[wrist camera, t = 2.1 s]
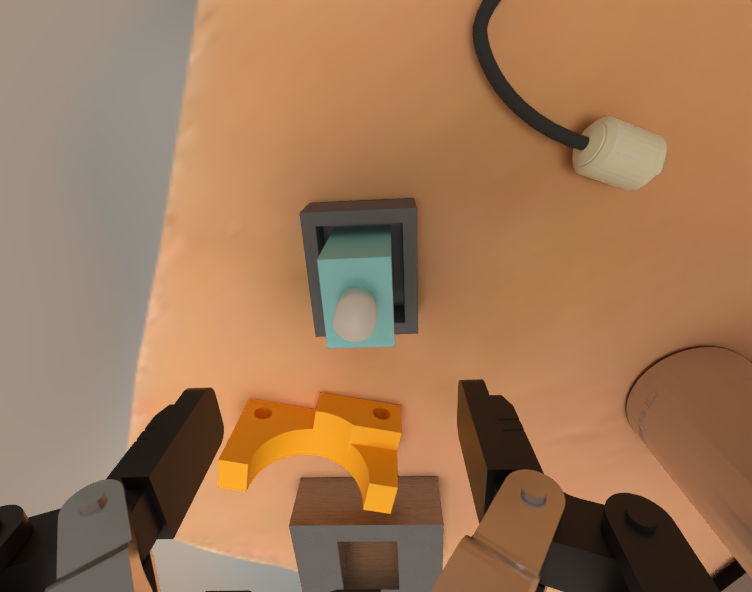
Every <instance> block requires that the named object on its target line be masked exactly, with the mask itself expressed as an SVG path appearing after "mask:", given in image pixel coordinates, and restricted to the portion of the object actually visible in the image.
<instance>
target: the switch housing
mask: <svg viewBox="0 0 752 592" xmlns="http://www.w3.org/2000/svg"><path fill="white" fill-rule="evenodd" d="M289 528H290V533H291V538H292V543H293V547H294V552H295V557H296V562H297V567H298V572H299V576H300V581H301V586H302V591H303V592H331V591H334V590H338V589H381V592H430V591H431V589H432V588H433V586H434V584H435V583H436V581H437V579H438V578H439V576H440V574H441V573H442V566H443V517H442V510H441V502H440V495H439V488H438V480H437V476H433V477H398V489H397V493H396V496H395V500H394V503H393V507H392V510H391V514H388V513H382V512H375V511H369V510H363V498H362V494H361V491H360V488H359V486H358V484H357V482H356V481H355V479H354V478H301V480H300V484H299V488H298V492H297V496H296V500H295V504H294V508H293V512H292V516H291V520H290V524H289Z"/></svg>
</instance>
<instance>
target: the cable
mask: <svg viewBox="0 0 752 592" xmlns="http://www.w3.org/2000/svg"><path fill="white" fill-rule="evenodd" d="M500 1H501V0H483V1H482V3H481V5H480V7H479V9H478V11H477V14H476V17H475V21H474V24H473V41H474V46H475V50H476V54H477V57H478V59H479V62H480V65H481V67H482V69H483V71H484V73H485V75H486V77H487V79H488V81H489V82H490V84H491V85H492V87H493V89H494V90H495V92H496V93H497V94H498V95H499V97H500V98H501V99H502V100H503V102H504V103H505V104H506V105H507V106H508V107H509V108H510V109H511V110H512V111H513V112H514V113H515V114H516V115H517V116H518V117H520V118H521V119H522V120H523V121H525V122H526V123H527V124H528V125H530V126H531V127H532V128H534V129H536V130H537V131H539V132H541V133H542V134H544V135H545V136H547V137H549V138H551V139H553V140H555V141H558V142H560V143H562V144H564V145H566V146H569V147H572V148H574V149H573V155H572V161H573V168H574V170H575V172H576V173H577V174H579V175H582V176H585V177H588V178H591V179H594V180H597V181H599V182H602V183H605V184H608V185H611V186H614V187H616V188H619V189H622V190H625V191H633V190H637V189H639V188H641V187H643V186H644V185H646V184H647V183H648V182H649V181H651V180H652V178H653V177H654V176H655V175H659V174H660V172H661V170H662V169H663V167H664V166H662V165H663V163H664V160H665V157H666V153H667V144H666V141H665V139H664V138H663V137H662V136H660V135H658V134H655V133H653V132H650V131H648V130H645V129H643V128H640V127H637V126H635V125H632V124H630V123H627V122H625V121H622V120H620V119H617V118H615V117H612V116H604V117H602V118H600V119H598V120H596V121H595V122H594V123H592V124H591V125H590V126H589V127H587V128H586V129H585V130H584V131H583V133H582V134H578V133H575V132H572V131H570V130H568V129H566V128H564V127H562V126H560V125H557V124H555V123H554V122H552V121H551V120H549V119H547V118H546V117H544V116H543V115H541V114H539V113H538V112H537V111H536V110H534V109H533V108H532V107H531V106H529V105H528V104H527V103H526V102H525V101H524V100H523V99H522V98H521V97H520V96H519V95H518V94H517V93H516V92H515V91H514V89H513V88H512V87H511V85H510V84H509V83H508V82H507V80H506V79H505V77H504V76H503V74H502V72H501V71H500V69H499V67H498V65H497V63H496V61H495V59H494V56H493V54H492V51H491V48H490V45H489V41H488V35H487V26H488V22H489V19H490V17H491V15H492V13H493V11H494V9H495V8H496V6H497V5H498V4H499V2H500Z"/></svg>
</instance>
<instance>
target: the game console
mask: <svg viewBox="0 0 752 592" xmlns="http://www.w3.org/2000/svg"><path fill="white" fill-rule="evenodd" d="M712 580H713V582H714V583H715V585H716V586H717V588H718V589H719V591H720V592H752V579H751V577H750V576H749V575H748V573H747V572H746V571H745V570H744V568H743V567H742V566H741V565H740V563H739V562H738V561H737V560H736V561H735V562H734V563H732V564H731V565H730V566H728V567H727V568H726V569H724V570H723V571H722V572H721V573H719V574H718V575H717V576H715V577H714V578H713V579H712Z"/></svg>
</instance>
